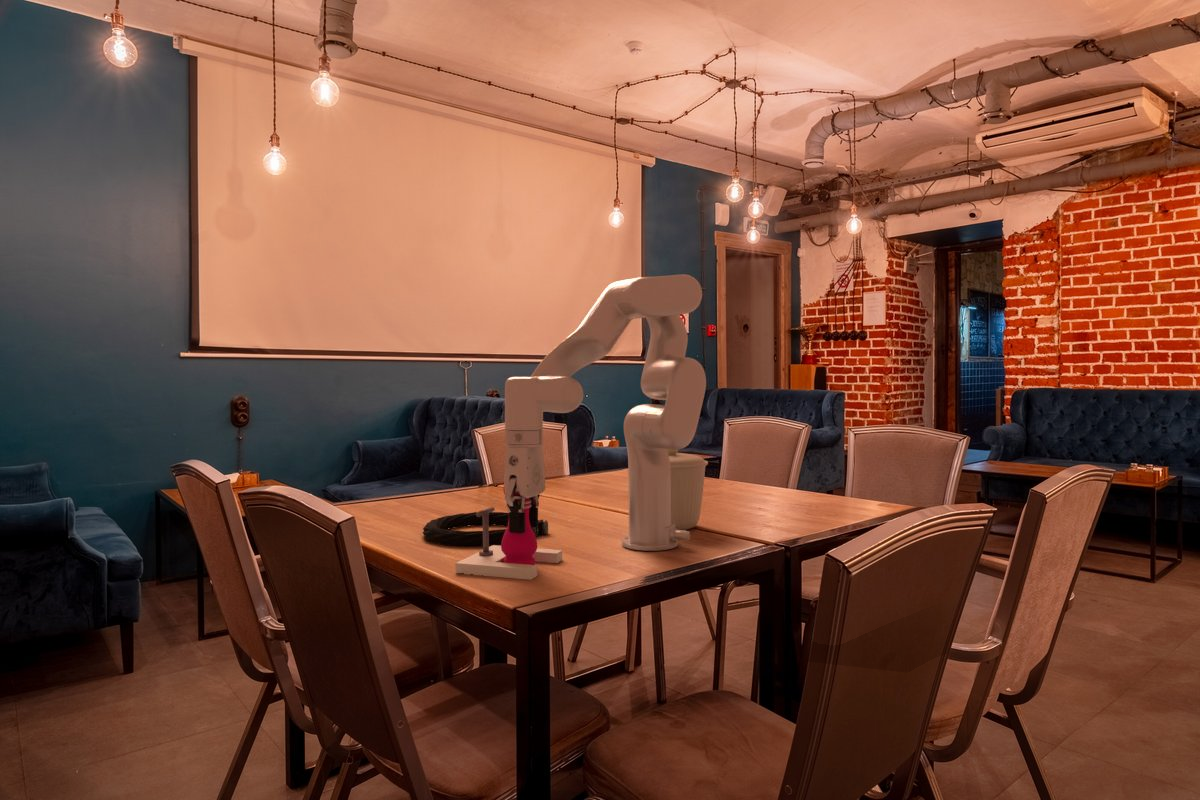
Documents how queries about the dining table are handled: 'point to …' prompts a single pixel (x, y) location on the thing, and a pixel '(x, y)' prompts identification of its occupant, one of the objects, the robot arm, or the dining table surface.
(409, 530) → the dining table surface
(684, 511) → the canister
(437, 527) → the cable lock
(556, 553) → the u-shaped stand
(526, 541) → the pepper mill
